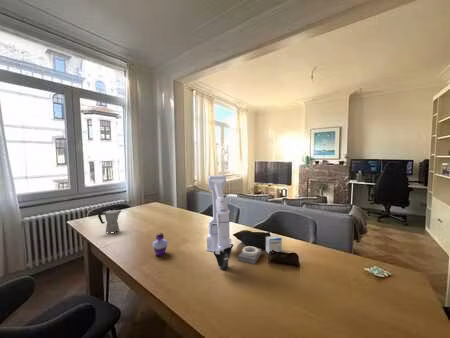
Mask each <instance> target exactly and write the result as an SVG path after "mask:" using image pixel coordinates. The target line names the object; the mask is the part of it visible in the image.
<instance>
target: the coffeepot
mask: <svg viewBox="0 0 450 338" xmlns="http://www.w3.org/2000/svg"><path fill="white" fill-rule="evenodd" d="M121 212H122V210H121V209H117V210H116V209H114V208H113V207H110V209H109V210H106V211H103V212H102V211H101V212H99V214H98V215H97V216H98V219H99V222H100V223H101V224H105V222H106V226H105V227H106V228H105V233H106V232H108V233H111V232H116V231H118V230H119V231H120V226H119V222H118V219H119V216H120V214H121ZM102 216H105V221H103V220H104V219H103V218H102ZM119 231H118V232H119Z"/></svg>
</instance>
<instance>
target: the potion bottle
mask: <svg viewBox="0 0 450 338" xmlns="http://www.w3.org/2000/svg"><path fill="white" fill-rule="evenodd" d="M155 239H156V240H154V241H153V242H152V243H151V244H152V248H153V249H154V253H155V254H154V255H155V256H156V255H157V256H156V257H163V256H165V255H166V251H167V247H168V243H169V241H168V240H167V239H165V234H164V233H163V232H158V233H156V236H155ZM164 254H165V255H164ZM162 255H163V256H162Z"/></svg>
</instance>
